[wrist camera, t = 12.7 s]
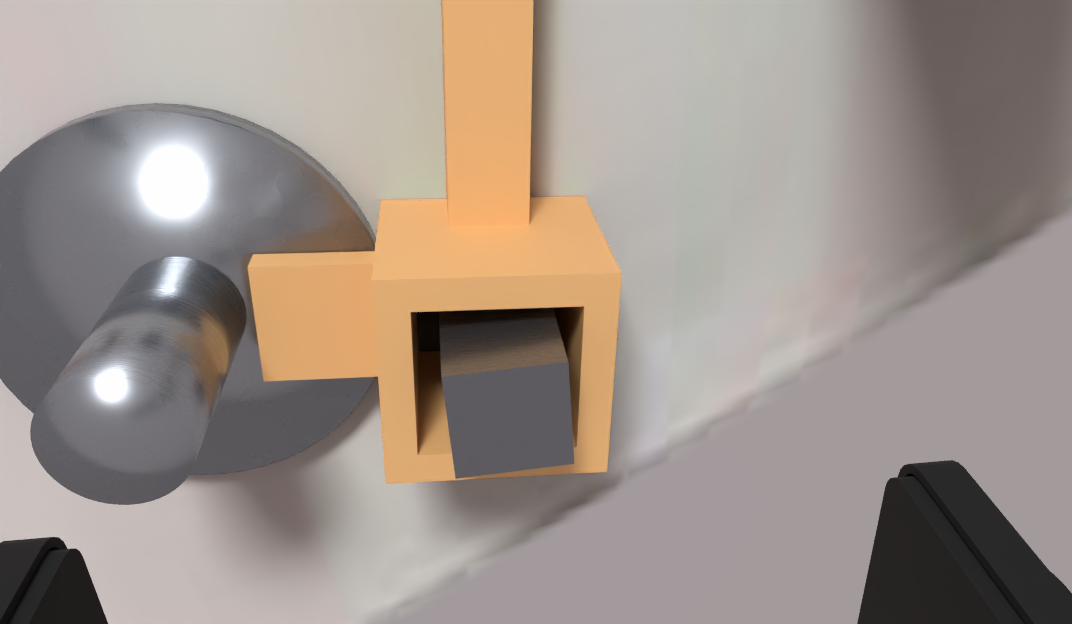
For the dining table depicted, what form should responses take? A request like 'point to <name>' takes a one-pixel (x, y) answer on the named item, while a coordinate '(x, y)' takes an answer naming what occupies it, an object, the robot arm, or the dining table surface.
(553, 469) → the bracket
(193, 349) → the metal disc with post
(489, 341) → the grey long block
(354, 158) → the dining table surface
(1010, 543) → the robot arm
